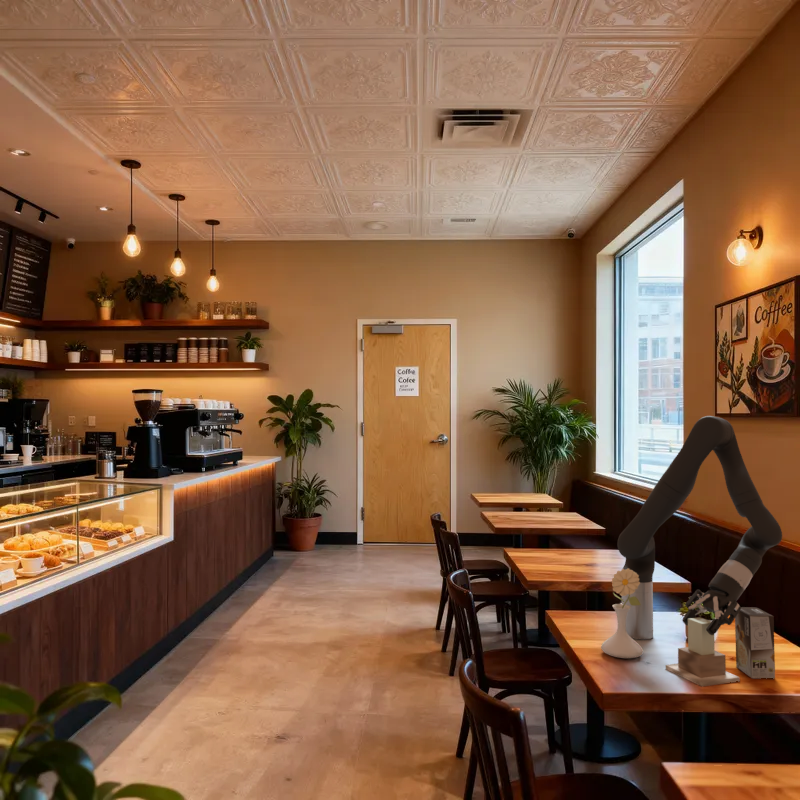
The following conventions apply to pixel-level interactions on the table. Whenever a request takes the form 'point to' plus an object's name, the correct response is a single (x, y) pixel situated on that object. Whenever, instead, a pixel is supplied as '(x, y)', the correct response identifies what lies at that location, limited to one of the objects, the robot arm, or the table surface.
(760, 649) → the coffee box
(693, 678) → the tower base
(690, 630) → the sage brick
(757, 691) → the table surface
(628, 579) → the flower in vase
